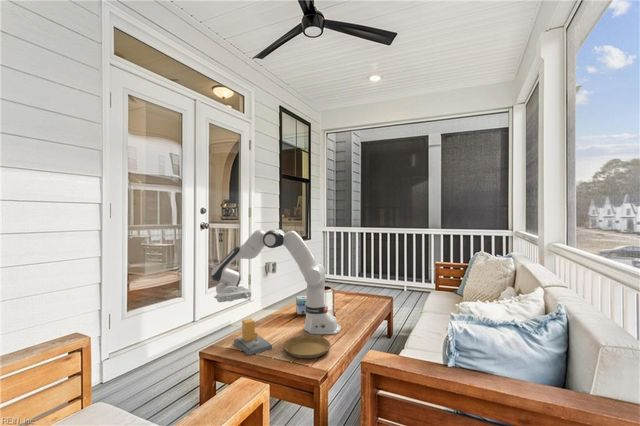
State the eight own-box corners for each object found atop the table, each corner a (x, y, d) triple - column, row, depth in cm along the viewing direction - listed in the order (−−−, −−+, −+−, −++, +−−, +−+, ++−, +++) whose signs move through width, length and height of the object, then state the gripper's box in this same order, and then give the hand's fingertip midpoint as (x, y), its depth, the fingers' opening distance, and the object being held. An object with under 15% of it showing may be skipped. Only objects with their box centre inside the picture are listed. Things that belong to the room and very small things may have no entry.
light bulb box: (297, 314, 222) (297, 299, 222) (295, 311, 229) (295, 296, 228) (312, 313, 225) (312, 297, 225) (310, 310, 231) (310, 295, 231)
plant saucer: (296, 338, 182) (296, 332, 182) (336, 344, 173) (336, 338, 173) (275, 356, 159) (275, 350, 159) (320, 365, 151) (320, 358, 151)
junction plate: (234, 342, 176) (233, 328, 176) (255, 337, 184) (255, 323, 183) (248, 355, 161) (248, 339, 160) (271, 348, 168) (271, 333, 168)
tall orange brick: (250, 336, 179) (250, 318, 179) (254, 339, 175) (254, 320, 175) (242, 338, 176) (242, 320, 176) (246, 341, 172) (246, 323, 172)
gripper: (213, 291, 190) (221, 296, 179) (245, 286, 203) (255, 290, 191) (213, 301, 190) (221, 307, 179) (245, 296, 203) (255, 301, 192)
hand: (239, 298), depth 185 cm, fingers open, 8 cm apart
